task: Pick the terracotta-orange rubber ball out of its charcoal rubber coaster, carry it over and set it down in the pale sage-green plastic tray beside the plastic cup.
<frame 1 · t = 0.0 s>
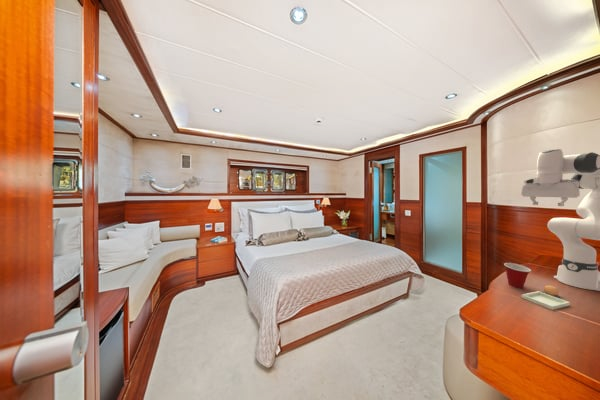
hand: (547, 205, 108), 48 cm above the table, fingers open, 8 cm apart
tray: (544, 302, 100), on the table
coaster: (550, 295, 106), on the table
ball: (550, 295, 106), resting on coaster
plastic cup: (516, 286, 116), on the table
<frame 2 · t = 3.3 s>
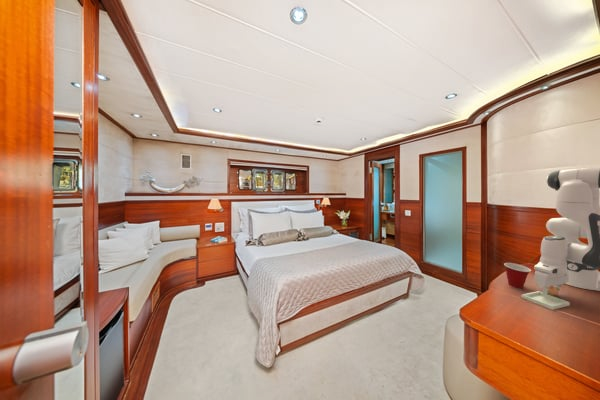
hand: (551, 292, 105), 2 cm above the table, fingers open, 8 cm apart
nothing on the table moved.
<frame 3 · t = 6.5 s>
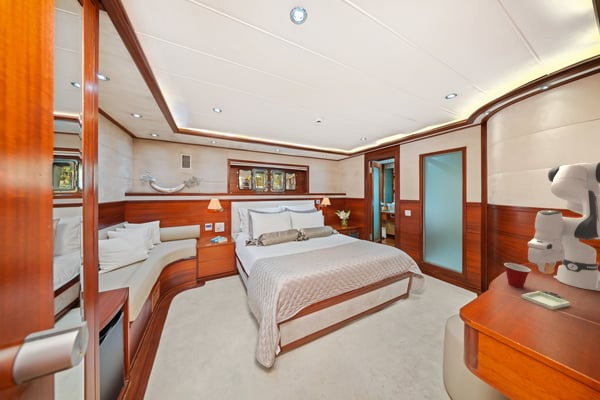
hand: (546, 270, 99), 16 cm above the table, fingers closed on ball, 5 cm apart
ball: (546, 273, 99), point 15 cm above the table, touching gripper
everything else where it was.
when the fingers open (5 cm above the table, at t = 9.0 s): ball drops 2 cm, resting on tray.
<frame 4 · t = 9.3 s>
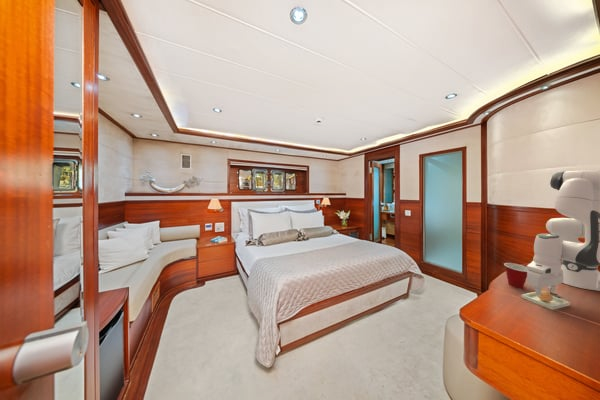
hand: (545, 293, 100), 5 cm above the table, fingers open, 8 cm apart
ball: (544, 300, 100), point 1 cm above the table, touching tray
everything else where it was.
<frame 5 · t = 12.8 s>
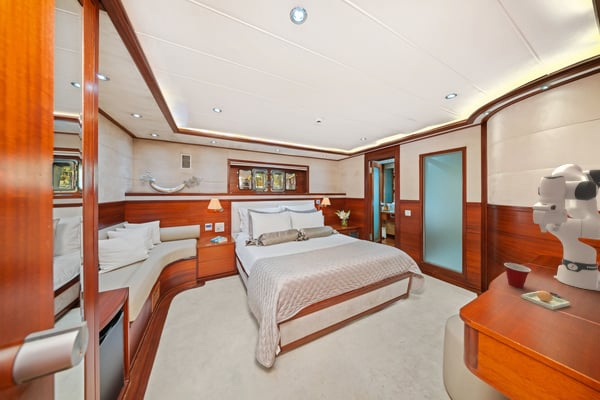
hand: (550, 231, 106), 34 cm above the table, fingers open, 8 cm apart
nothing on the table moved.
at the end: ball inside the target area on the tray (0.1 cm from its centre), point 0.6 cm above the tray's base; the gripper is holding nothing; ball moved 11.8 cm from its start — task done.
